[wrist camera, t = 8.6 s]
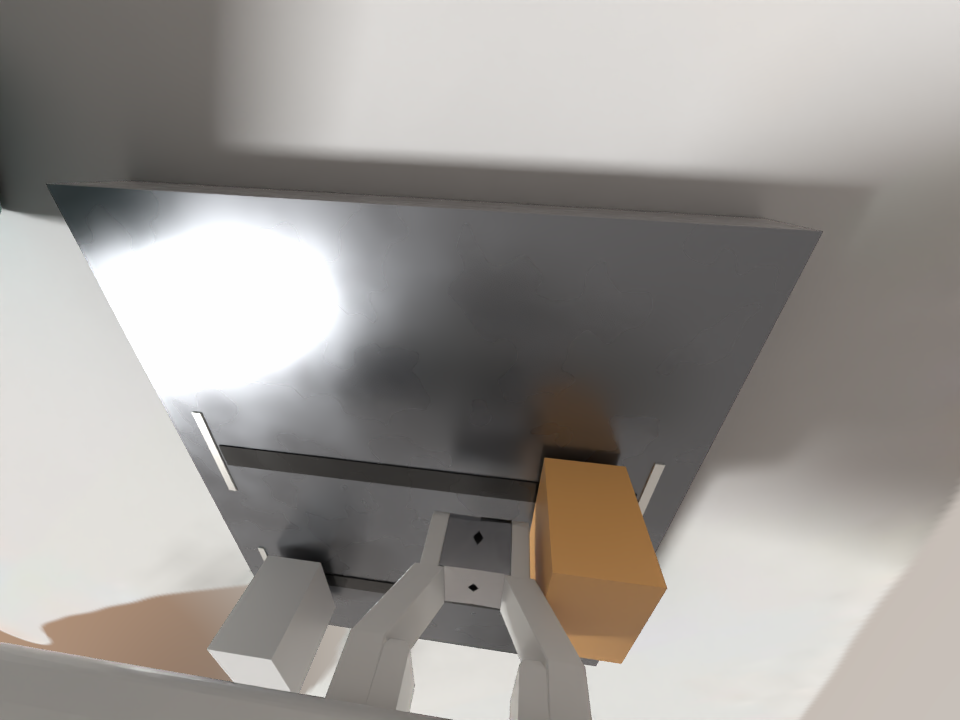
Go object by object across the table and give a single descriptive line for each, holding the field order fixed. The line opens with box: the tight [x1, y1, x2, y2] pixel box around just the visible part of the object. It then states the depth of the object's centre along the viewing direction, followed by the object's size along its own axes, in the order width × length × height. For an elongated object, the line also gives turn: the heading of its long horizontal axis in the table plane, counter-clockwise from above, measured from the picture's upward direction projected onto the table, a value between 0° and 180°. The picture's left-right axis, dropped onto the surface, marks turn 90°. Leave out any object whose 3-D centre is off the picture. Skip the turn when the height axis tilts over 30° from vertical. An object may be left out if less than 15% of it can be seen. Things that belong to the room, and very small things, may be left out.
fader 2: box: [530, 458, 667, 664], centre depth 10 cm, size 4×2×4 cm, turn 177°
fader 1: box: [207, 555, 336, 693], centre depth 15 cm, size 4×2×4 cm, turn 178°
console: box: [46, 181, 823, 666], centre depth 14 cm, size 22×18×2 cm
